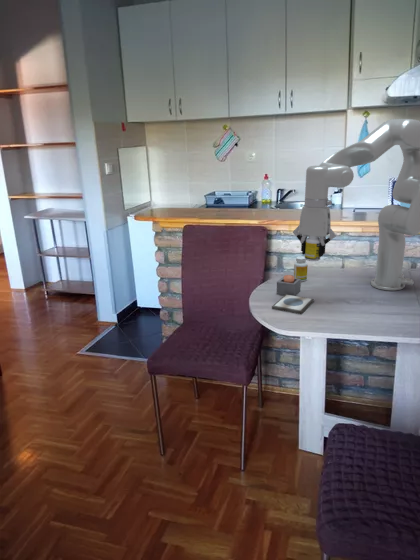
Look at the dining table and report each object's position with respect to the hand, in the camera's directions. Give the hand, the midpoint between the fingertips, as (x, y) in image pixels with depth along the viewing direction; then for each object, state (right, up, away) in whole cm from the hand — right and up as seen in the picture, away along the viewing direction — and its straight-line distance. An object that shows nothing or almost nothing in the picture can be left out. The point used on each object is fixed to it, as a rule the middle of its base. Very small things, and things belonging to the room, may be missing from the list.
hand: (312, 254), depth 160 cm
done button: (-6, -11, +14) cm, 19 cm away
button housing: (-6, -14, +15) cm, 21 cm away
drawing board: (-6, -18, +3) cm, 20 cm away
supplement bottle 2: (0, -2, +1) cm, 2 cm away
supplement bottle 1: (+1, -9, +29) cm, 30 cm away
